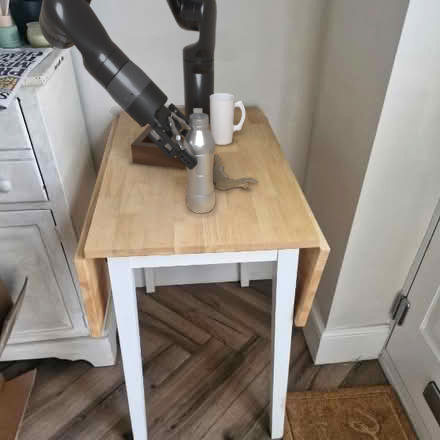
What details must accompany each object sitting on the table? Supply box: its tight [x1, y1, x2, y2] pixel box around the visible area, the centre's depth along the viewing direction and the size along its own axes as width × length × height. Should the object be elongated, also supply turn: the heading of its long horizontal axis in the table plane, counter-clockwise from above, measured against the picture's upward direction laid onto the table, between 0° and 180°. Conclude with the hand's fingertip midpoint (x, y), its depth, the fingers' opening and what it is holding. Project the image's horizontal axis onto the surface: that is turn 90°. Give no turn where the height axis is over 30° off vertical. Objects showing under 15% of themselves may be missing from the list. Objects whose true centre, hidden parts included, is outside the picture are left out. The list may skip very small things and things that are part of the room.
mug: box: [209, 92, 246, 146], centre depth 119 cm, size 10×7×12 cm, turn 99°
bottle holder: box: [130, 125, 186, 170], centre depth 113 cm, size 14×14×5 cm
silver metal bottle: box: [183, 113, 217, 214], centre depth 88 cm, size 6×7×20 cm
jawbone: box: [213, 153, 259, 191], centre depth 106 cm, size 9×20×2 cm, turn 30°
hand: (198, 157), depth 86 cm, fingers open, 8 cm apart
